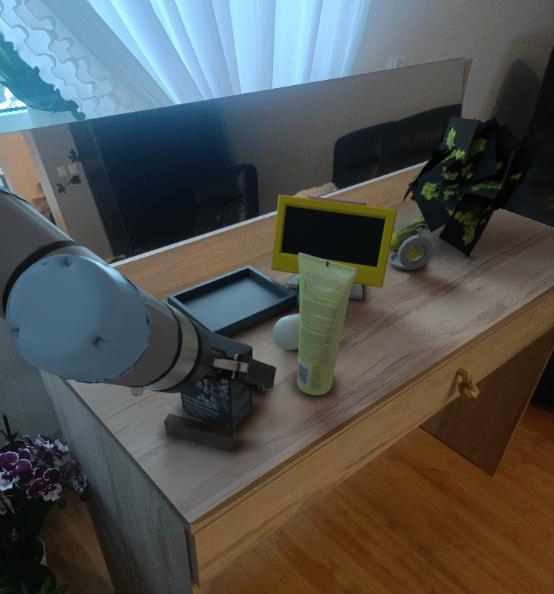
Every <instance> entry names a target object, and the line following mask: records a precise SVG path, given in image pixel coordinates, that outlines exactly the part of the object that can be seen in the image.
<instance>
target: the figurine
mask: <svg viewBox="0 0 554 594" xmlns="http://www.w3.org/2000/svg"><path fill="white" fill-rule="evenodd" d="M299 317H300V313H294V314H288V315H286V316H283V317H280V318H279V319H278V320H277V321H276V323H275V325H274V327H273V329H272V337H273V340H274V342H275V343H276V344H277V345H278V346H279V347H280V348H282V349H283V350H287V351H294V350H299Z"/></svg>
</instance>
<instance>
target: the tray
mask: <svg viewBox="0 0 554 594" xmlns="http://www.w3.org/2000/svg"><path fill="white" fill-rule="evenodd" d="M166 299H167V304H169V305H170V306H172V307H174V308H175V309H177V310H178V311H180V312H181V313H182V314H184V315H185V316H187V317H188V318H190V319H192V320H193V321H195V322H196V323H197V324H199V325H200V326H201V327H202V328H203V329H206V330H208V331H210V332H213V333H216V334H218V335H221V336H224V337H227V338H229V337H230V336H232V335H234V334H237V333H239V332H241V331H243V330H245V329H248V328H249V327H252V326H254V325H256V324H259V323H261V322H263V321H265V320H268V319H269V318H271V317H274V316H276V315H278V314H280V313H282V312H284V311H286V310H289V309H291V308H293V307H295V306H297V302H296V292H294V291H292V290H291V289H289V288H287V286H284V285H282V284H281V283H279V282H278V281H276V280H274V279H272V278H271V277H269V276H268V275H266V274H264V273H262V272H261V271H259V270H258V269H256V268H255V267H253V266H252V265H250V264H249V265H245V266H243V267H240V268H238V269H237V268H236V269H235V270H232V271H230V272H227V273H224V274H222V275H219V276H216V277H214V278H212V279H209V280H207V281H204V282H201V283H198V284H195V285H193V286H190V287H187V288H185V289H182V290H180V291H177V292H175V293H172V294H169V295H167V297H166Z"/></svg>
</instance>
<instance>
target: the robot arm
mask: <svg viewBox="0 0 554 594" xmlns="http://www.w3.org/2000/svg"><path fill="white" fill-rule="evenodd" d="M0 319H2V320H3V321H5V325H6V328H7V330H8V332H9V333H10V337H11V340H12V343H13V346H14V348H15V350H16V351H17V352H18V354H19V355H20V356H21V358H23V360H25V361H26V362H27V363H28V364H30V365H31V366H33V367H34V368H36V369H38V370H40V371H42V372H44V373H47V374H51V375H54V376H57V377H59V378H61V379H64V380H67V381H73V380H74V381H75V382H76V383H80V384H87V385H88V384H103V385H104V384H105V385H113V386H114V385H115V386H119V387H120V386H121V387H126V388H130V394H131V395H132V396H134V397H140V396H143V392H144V390H148V391H150V392H151V391H152V392H156V393H163V394H179V393H180V392H183V391H186V390H188V389H190V388H192V387H193V386H195V385H196V384H197V383H198V382H199V381H203V380H210V381H216V382H220V381H221V380H222V379H227V380H231V381H236V382H240V383H245V384H244V385H245V386H248V387H249V391H252V392H253V393H256V392H258V389H260V390H261V386H263V387H265V389H267V390H270V389H273V388H274V384H275V378H276V374H277V367H276V366H274V365H272V364H268V363H265V362H263V361H260V360H258V359H255V358H253V359H252V358H251V357H250V356H248V355H247V354H243V353H242V354H238V355H234V358H233V357H229V356H227V353H226V351H225V350H222V349H218V348H215V347H212V346H211V345H210V342H209V339H208V337H207V335H206V333H205V331H204V330H203V329H202V327H201V326H200V325H199V324H197V323H196V322H195V321H193V320H192V319H190V318H188V317H187V316H185V315H184V314H182V313H181V312H180V311H178V310H177V309H175V308H174V307H172V306H170V305H169V304H168V302H166V301H164V300H163V299H160V298H158V297H156V296H153V295H152V294H151V293H149V292H148V291H146V290H145V289H144V288H142V287H141V286H139V285H138V284H136V283H135V282H134V281H131V280H130V278H128V277H126V275H124V274H122V273H121V272H119V271H118V270H117V269H115V268H114V266H112V265H110V264H109V263H108V262H106V261H105V260H104V259H102V258H101V257H100V256H98V255H97V254H96V253H94V252H93V251H91V250H90V249H89V248H87V247H85V246H84V245H82V244H80V243H78V242H77V241H75V239H73V238H71V237H70V236H69V235H68V234H66V233H65V232H64V231H63V230H62V229H60V228H59V227H57V225H55V224H54V223H53V222H51V221H50V220H49V219H48V218H47V217H45V216H44V215H43V214H41V212H39V211H38V210H37V209H36V208H35V207H34V206H33V205H32V204H31V203H30V202H29V201H28V200H26V199H25V198H23V197H22V196H21V195H19V194H18V193H14V192H13V191H12V190H10V189H9V188H7V187H5V186H4V185H0ZM207 374H209V375H207ZM180 394H181V393H180Z"/></svg>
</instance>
